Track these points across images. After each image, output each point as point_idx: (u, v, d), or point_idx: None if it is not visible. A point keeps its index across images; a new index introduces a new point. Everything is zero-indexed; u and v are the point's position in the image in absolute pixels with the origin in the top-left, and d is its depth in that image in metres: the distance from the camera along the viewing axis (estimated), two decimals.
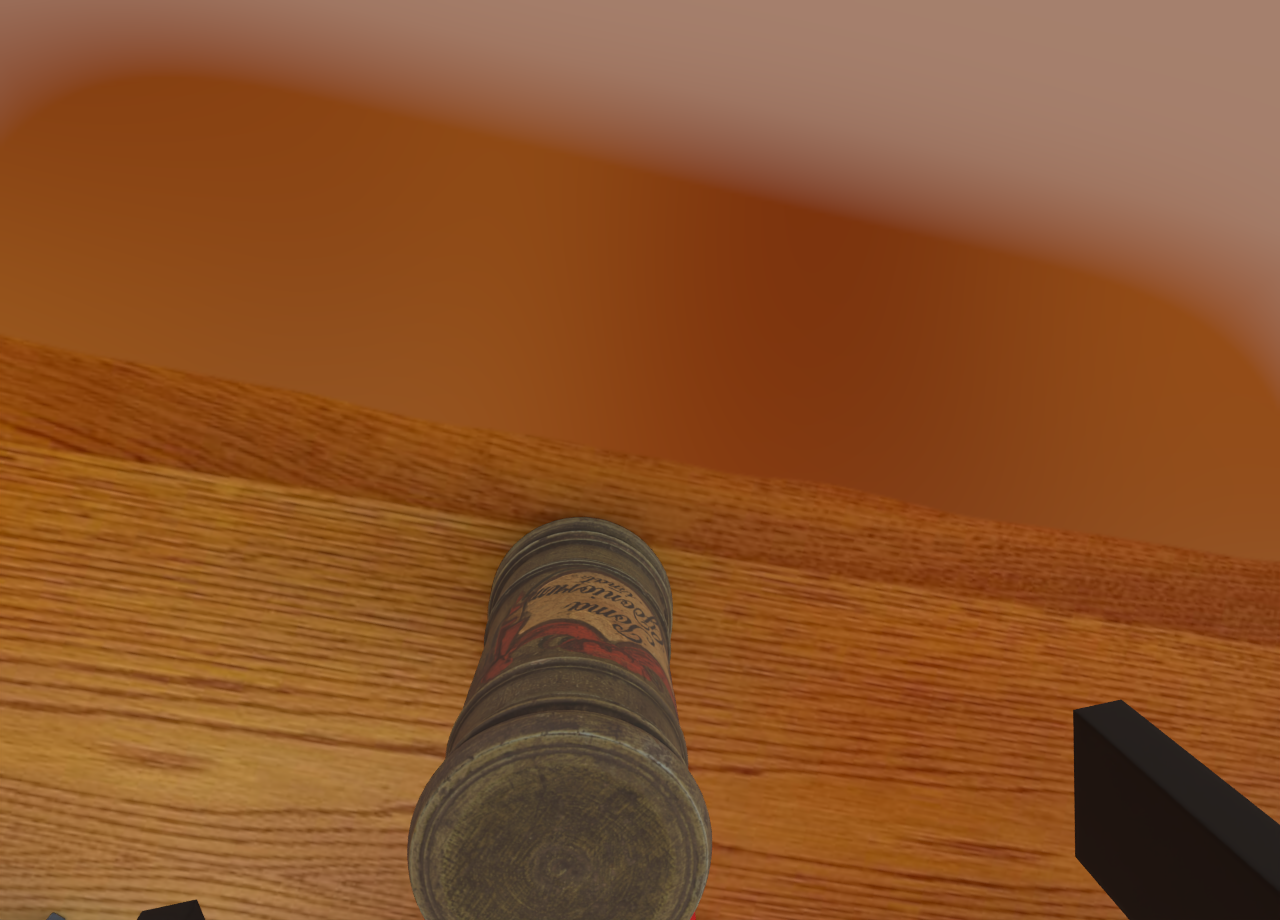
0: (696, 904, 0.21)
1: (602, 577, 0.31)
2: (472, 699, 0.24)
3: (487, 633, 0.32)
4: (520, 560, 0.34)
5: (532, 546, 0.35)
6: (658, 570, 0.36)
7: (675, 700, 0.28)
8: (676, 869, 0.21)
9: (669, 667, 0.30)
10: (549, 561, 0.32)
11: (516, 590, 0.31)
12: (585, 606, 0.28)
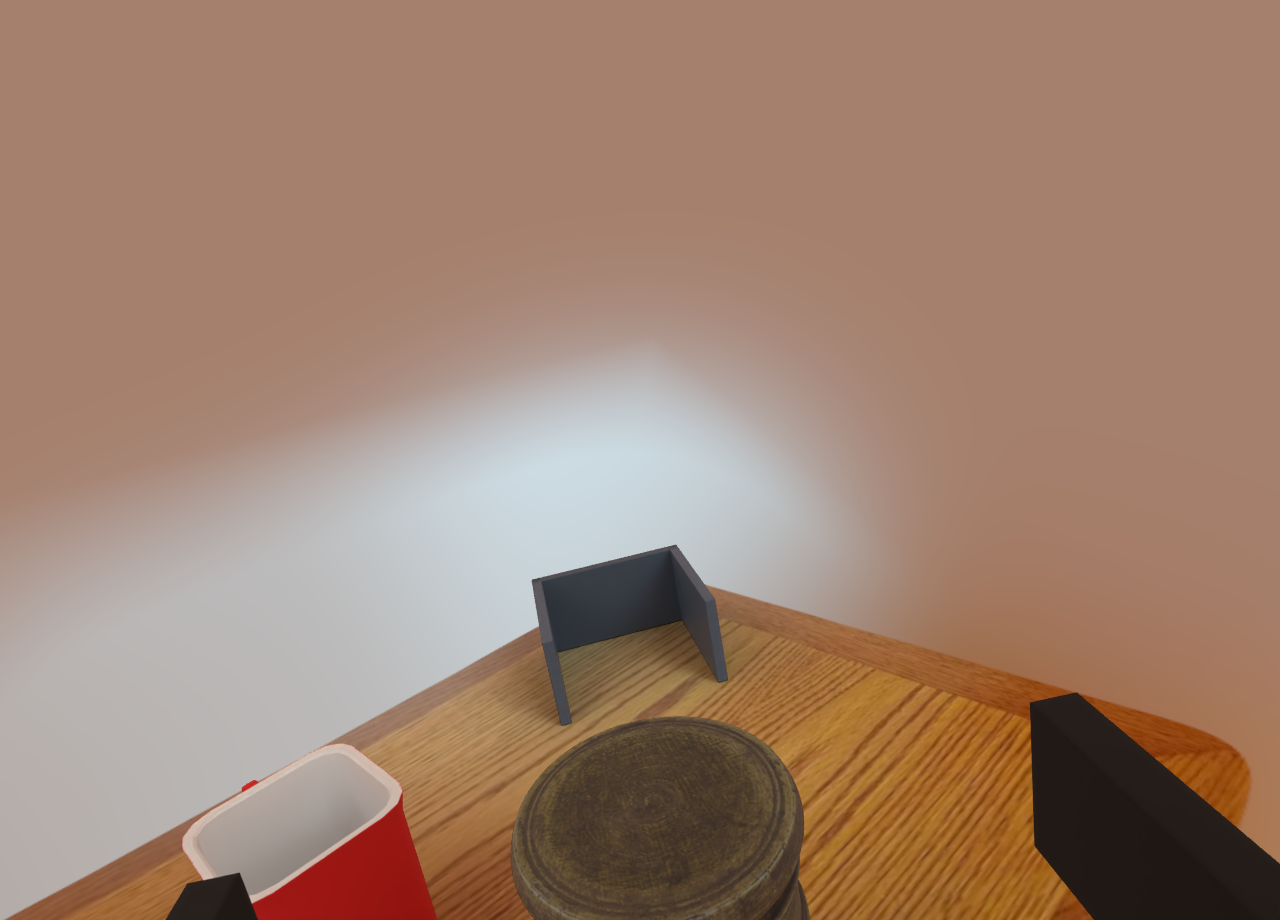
0: (527, 879, 0.20)
1: None
2: (797, 880, 0.23)
3: None
4: None
5: None
6: None
7: None
8: (575, 879, 0.19)
9: None
10: None
11: None
12: None
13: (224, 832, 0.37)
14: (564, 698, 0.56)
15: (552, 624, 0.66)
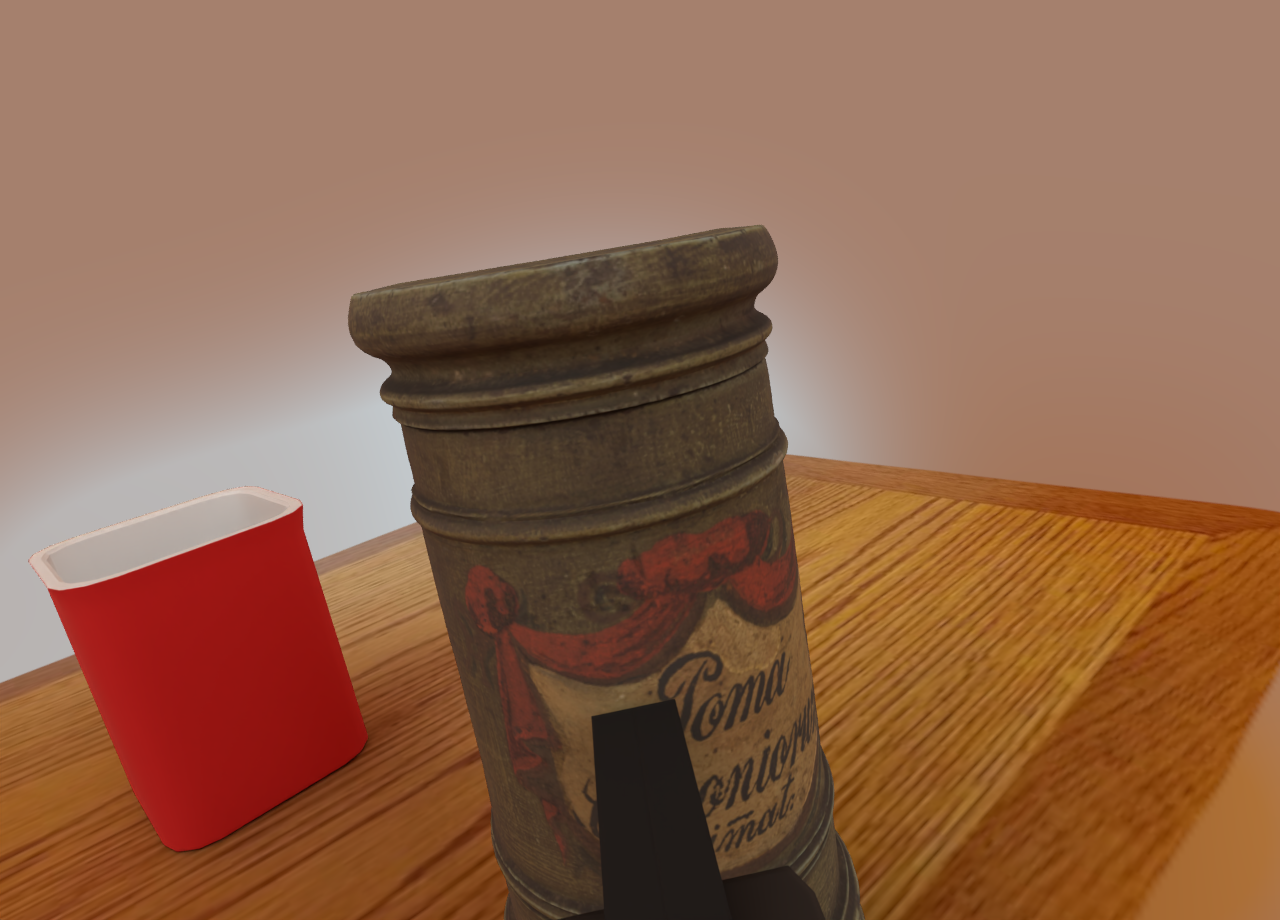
0: (358, 294, 0.13)
1: (769, 834, 0.15)
2: None
3: None
4: (839, 844, 0.19)
5: (853, 878, 0.18)
6: None
7: (521, 683, 0.14)
8: (425, 279, 0.13)
9: (548, 794, 0.14)
10: (830, 833, 0.17)
11: None
12: (769, 685, 0.14)
13: (91, 563, 0.30)
14: None
15: None
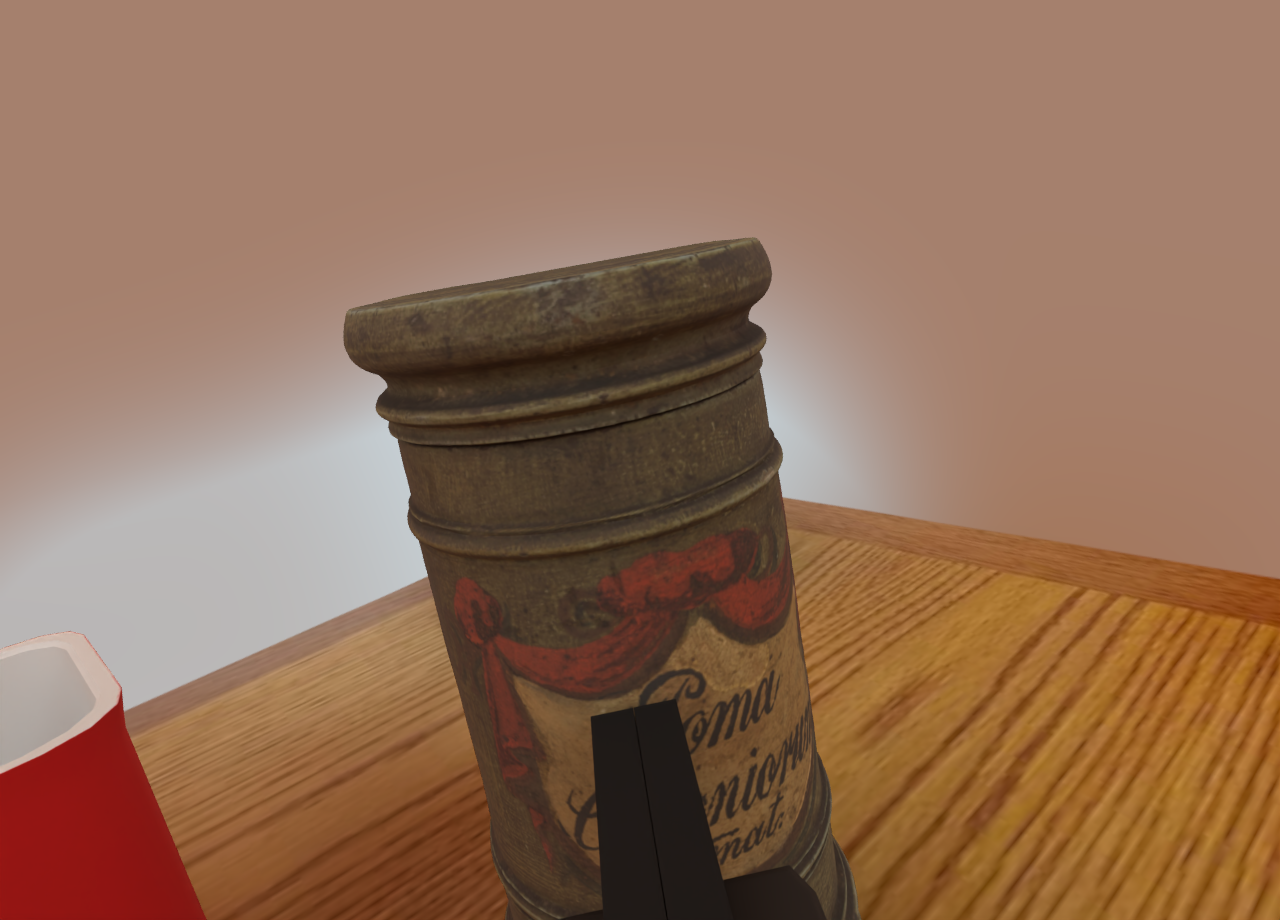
0: (350, 310, 0.13)
1: (756, 852, 0.15)
2: None
3: None
4: (840, 861, 0.19)
5: (852, 897, 0.18)
6: None
7: (506, 693, 0.14)
8: (413, 297, 0.13)
9: (535, 802, 0.15)
10: (826, 851, 0.17)
11: None
12: (756, 704, 0.14)
13: None
14: None
15: None
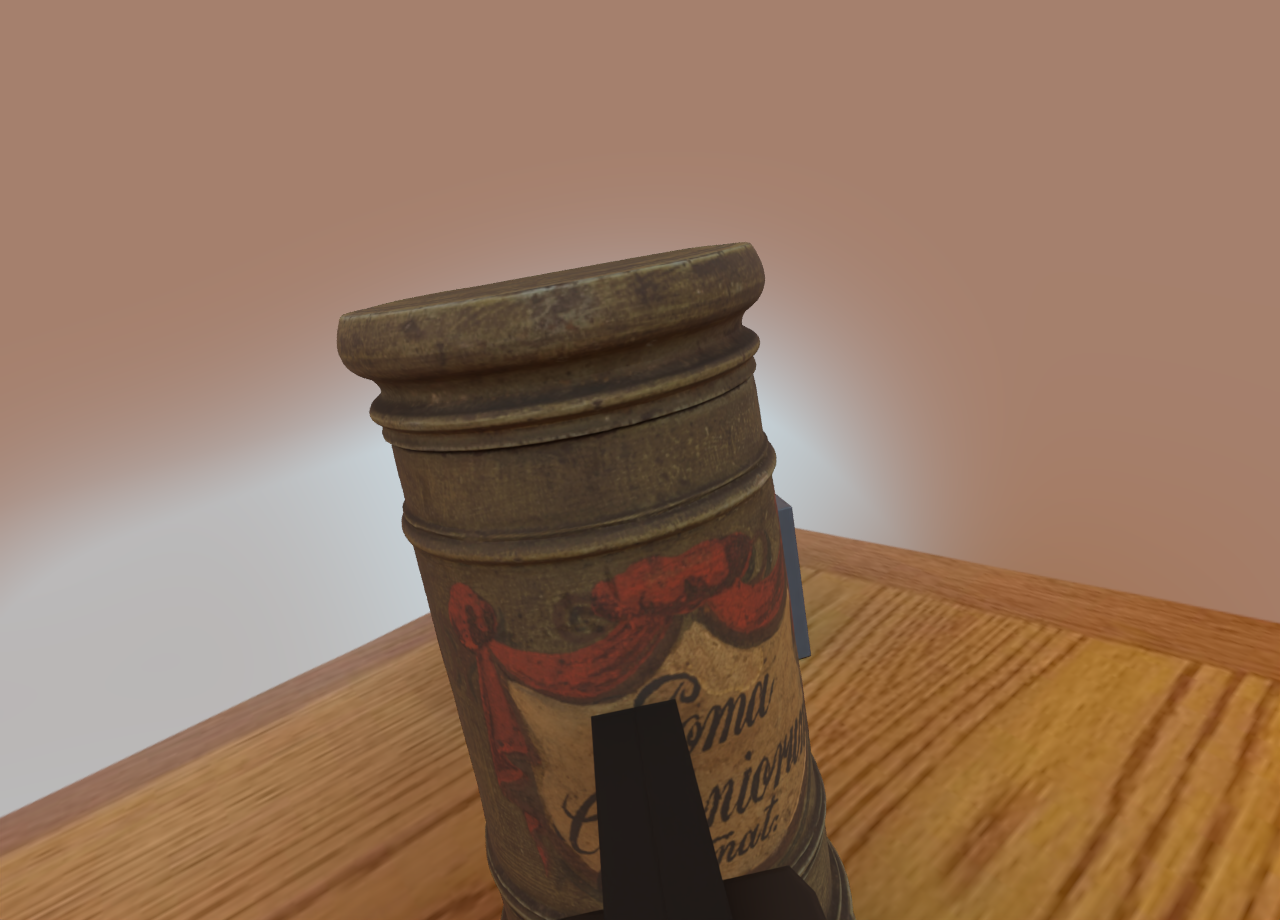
0: (344, 316, 0.13)
1: (750, 855, 0.15)
2: None
3: None
4: (835, 863, 0.19)
5: (847, 898, 0.18)
6: None
7: (501, 698, 0.14)
8: (406, 302, 0.13)
9: (530, 807, 0.15)
10: (820, 853, 0.17)
11: None
12: (750, 707, 0.14)
13: None
14: None
15: None
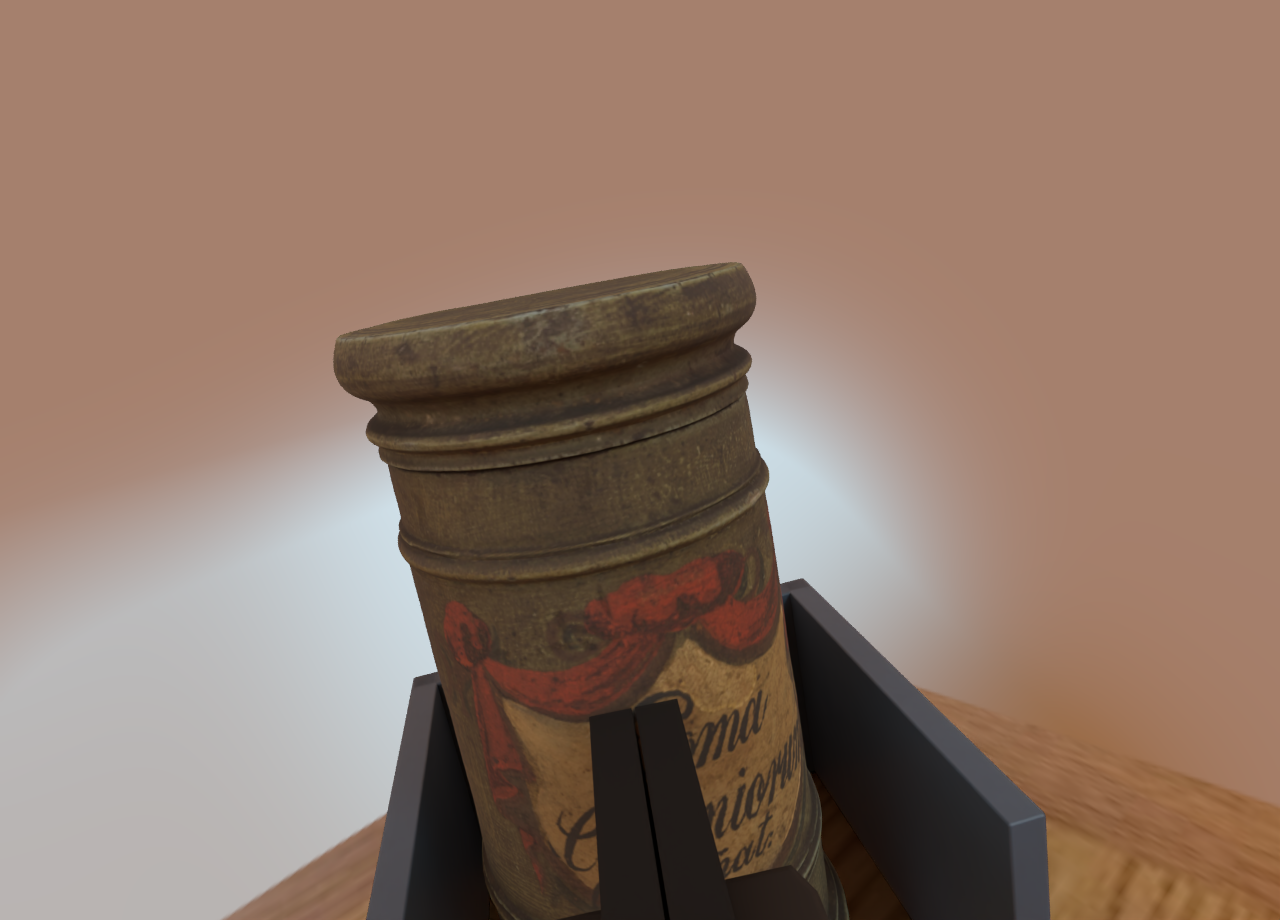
0: (340, 338, 0.14)
1: (745, 872, 0.15)
2: None
3: None
4: (832, 878, 0.19)
5: (843, 914, 0.18)
6: None
7: (496, 715, 0.14)
8: (401, 324, 0.13)
9: (525, 824, 0.15)
10: (816, 869, 0.17)
11: None
12: (744, 723, 0.14)
13: None
14: None
15: None
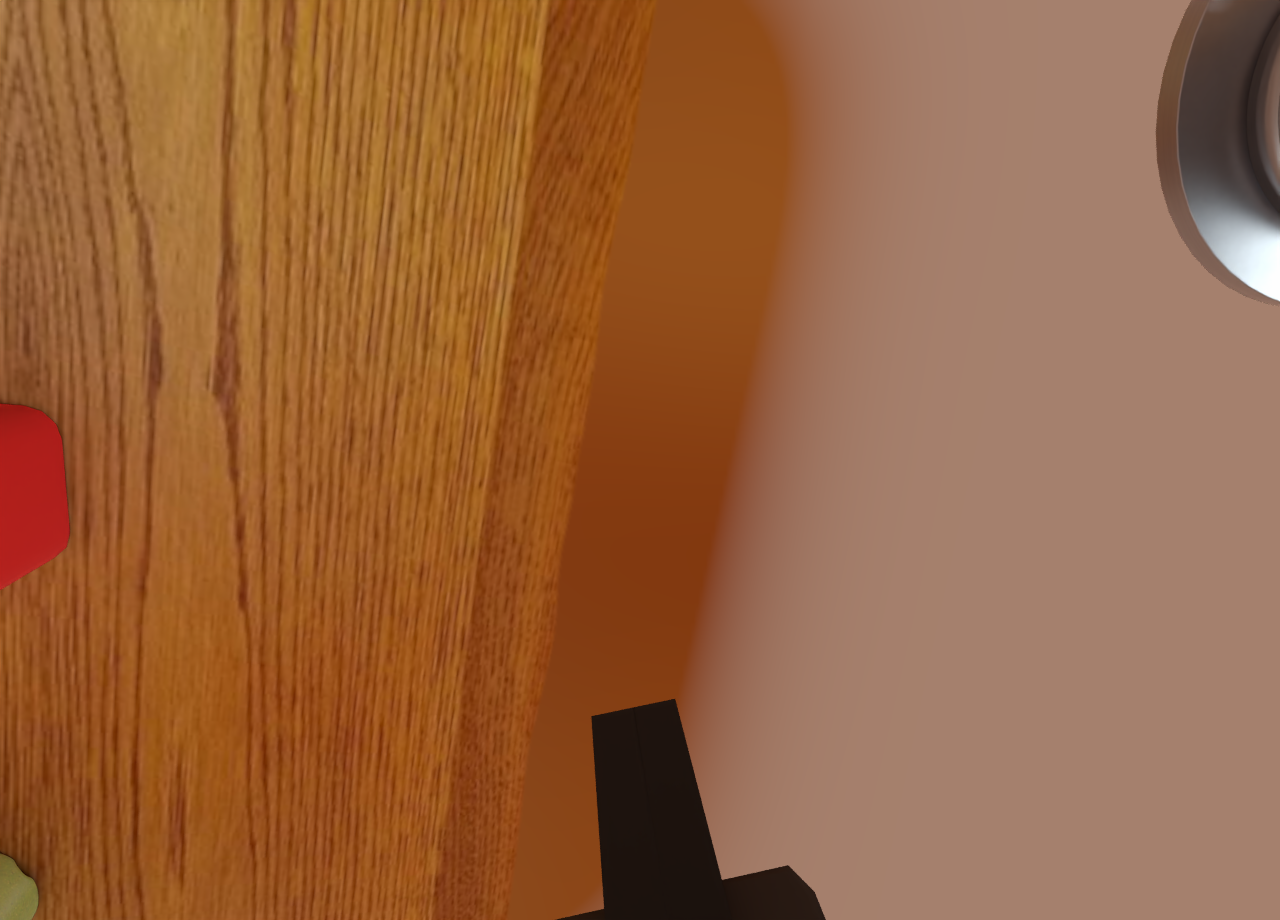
0: None
1: None
2: None
3: None
4: None
5: None
6: None
7: None
8: None
9: None
10: None
11: None
12: None
13: None
14: None
15: None
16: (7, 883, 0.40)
